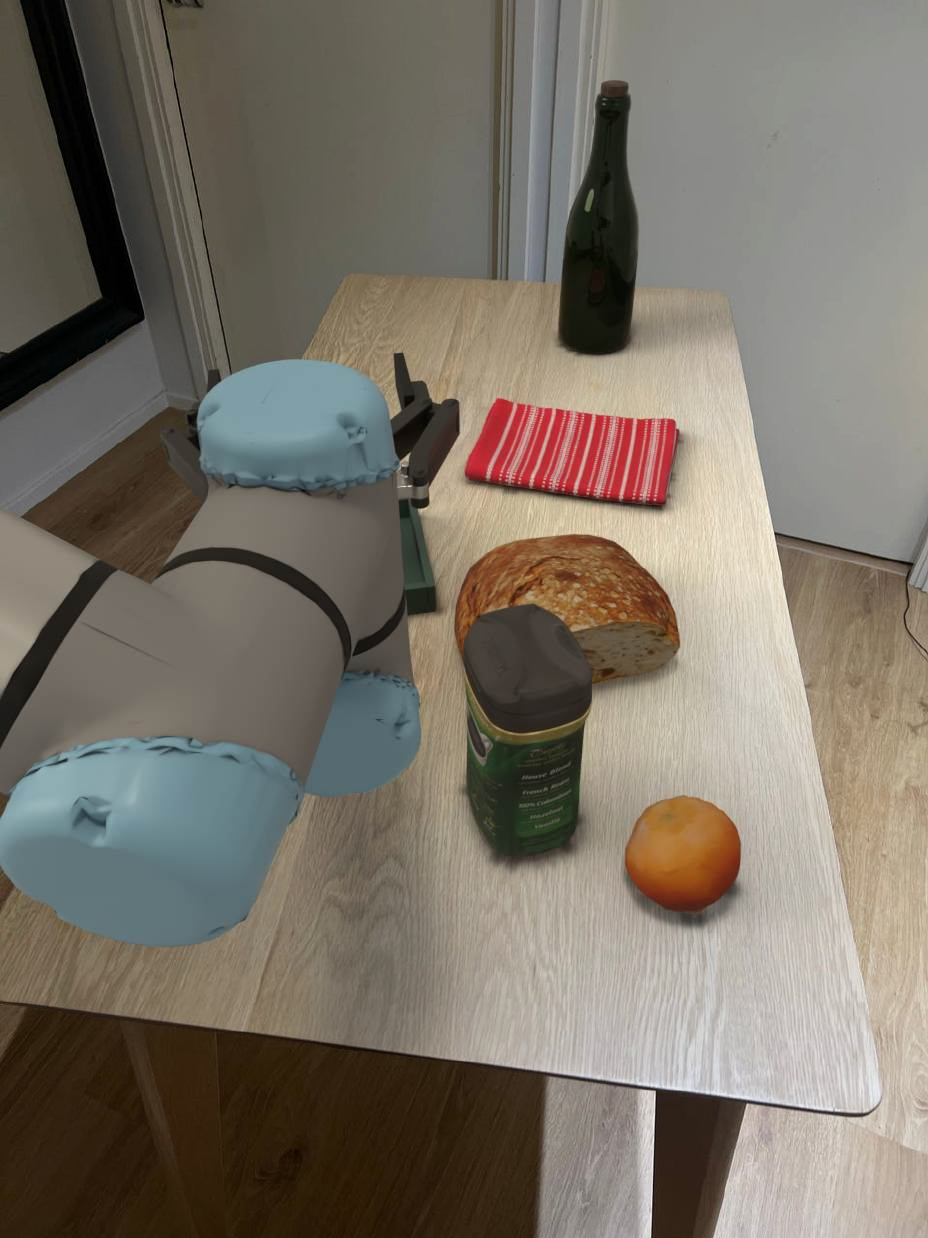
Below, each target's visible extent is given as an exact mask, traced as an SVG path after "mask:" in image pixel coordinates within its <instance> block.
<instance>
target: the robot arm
mask: <svg viewBox="0 0 928 1238" xmlns="http://www.w3.org/2000/svg"><path fill="white" fill-rule="evenodd" d="M392 354H393V367H394V382H395V383H394V384H395V389H396V393H397V398H398V402H399V406H400V411H399V412H397V414H395V415H394V416H393V417H392V418H391V415H390V411H389V406H388V405H389V404H388V402H387V400H386V397H385V395H384V393H383V392H382V391H381V389H380V388H379V386H378V384H376V383H375V382H374V381H373V380H372V379H370V378H369V377H367V376H366V375H365V374H363V373H362V372H361V371H358V370H356V369H354V368H352V367H350V366H347V365H345V364H341V363H337V362H333V361H327V360H315V359H300V358H292V359H281V360H280V359H279V360H273V361H267V362H263V363H259V364H256V365H252V366H250V367H247V368H243V369H241V370H239V371H237V372H235V373H233V374H231V375H229V376H227V377H225V378H224V379H222V377H221V371H220V369H219V368H217V369H214V368H213V369H208V372H207V383H206V394H205V396H204V397H203V399H202V401H195V402H194V403H193V404H192V405H191V408H190V409H188V410H186V411H185V413H184V416H185V420H186V424H187V426H186V427H184V428H182V429H179V428H178V427H176V426H174V425H170V426H169V425H168V426H163V427H162V428H160V429H159V432H158V433H159V435H160V440H161V443H162V447H163V450H164V454H165V457H166V462H167V463H168V465H169V467H170V468H171V469H172V470H173V471H174V472H175V473H176V475H177V476H178V477H179V478H180V479H181V480H182V481H183V482H184V484H185V485H186V486H187V487H188V488H189V489H190V490H191V492H192V493H193V494H194V495H195V496H196V497H197V498H198V499H199V500H200V501H201V502H202V506H201V507H200V509H199V510H198V511H197V513H196V515H195V516H194V518H193V519H192V521H191V522H190V523H189V525H188V527H187V529H186V530H185V531H184V533H183V535H182V536H181V538H179V541H178V542H177V544H176V545H175V547H174V549H173V550H172V551H171V553H170V555H169V556H168V558H167V560H166V561H165V563H164V564H163V566H162V567H161V569H160V570H159V571H158V573H157V574H156V576H155V577H154V579H153V580H152V582H151V583H148V582H146V581H145V580H143V579H140V578H139V577H137V576H134V575H132V574H130V573H127V572H125V571H123V570H121V569H119V568H118V567H116V566H113V565H112V564H110V563H108V562H106V561H104V560H103V559H100V558H98V557H96V556H94V555H93V554H90V553H89V552H87V551H86V550H83V549H81V548H79V547H77V546H75V545H74V544H72V543H70V542H68V541H66V540H64V539H62V538H60V537H58V536H56V535H55V534H52V533H50V532H49V531H47V530H45V529H43V528H41V527H39V526H38V525H36V524H34V523H32V522H30V521H28V520H26V519H24V518H23V517H21V516H19V515H17V514H15V513H13V512H11V511H10V510H8V509H6V508H5V507H2V506H0V793H1V794H3V795H5V796H6V800H7V802H6V806H5V809H4V811H3V813H2V815H1V817H0V867H1V870H2V871H3V872H4V874H5V876H7V877H8V879H9V880H10V882H12V884H13V885H14V887H16V888H17V889H18V890H19V891H20V892H22V893H23V894H25V895H26V897H28V898H30V899H31V900H33V901H36V902H39V903H43V904H44V905H47V906H49V907H51V908H52V910H54V913H55V915H56V917H58V919H60V920H62V921H64V922H65V923H68V924H69V925H72V926H74V927H77V928H79V929H81V930H84V931H86V932H88V933H91V934H95V935H97V936H100V937H103V938H106V939H110V940H113V941H117V942H122V943H127V944H131V945H138V946H145V947H152V948H153V947H155V948H179V947H187V946H188V947H189V946H194V945H195V946H196V945H200V944H203V943H206V942H209V941H213V940H215V939H217V938H219V937H221V936H222V935H224V934H226V933H228V932H229V931H231V930H232V929H234V928H235V927H236V926H237V925H238V924H240V923H242V922H245V921H246V920H247V918H248V916H249V914H250V913H251V911H252V909H253V908H254V906H255V904H256V902H257V900H258V898H259V895H260V894H261V890H262V888H263V886H264V883H265V881H266V878H267V876H268V874H269V872H270V869H271V868H272V865H273V862H274V860H275V857H276V855H277V853H278V850H279V848H280V846H281V843H282V840H283V839H284V836H285V834H286V832H287V829H288V827H289V826H291V824H292V823H293V822H294V821H295V820H296V819H297V818H298V816H299V814H300V812H301V807H302V803H303V801H304V797H305V794H307V795H311V796H315V797H322V798H341V797H344V796H348V795H356V794H359V795H362V794H365V793H369V792H371V791H372V792H373V791H374V790H377V789H379V788H382V787H384V786H386V785H388V784H390V783H391V782H393V781H394V780H396V779H397V778H399V777H400V776H401V775H402V774H403V773H405V771H407V770H408V768H409V767H410V766H411V764H412V763H413V762H414V760H415V759H416V757H417V754H418V752H419V750H420V747H421V743H422V724H421V717H420V708H421V701H420V699H421V696H420V692H419V689H418V688H419V687H417V686H416V683H415V677H414V671H413V664H412V663H413V662H412V655H411V646H410V645H411V644H410V631H409V618H408V617H409V615H407V602H406V596H405V588H404V577H403V562H402V547H401V531H400V516H399V501H398V499H405V498H411V505H412V507H414V508H416V509H418V510H422V509H426V508H428V507H429V506H430V503H431V502H430V487H431V485H432V484H433V482H434V480H435V478H436V476H437V475H438V473H439V471H440V469H441V468H442V466H443V464H444V463H445V461H446V459H447V457H448V456H449V454H450V452H451V450H452V448H453V447H454V445H455V443H456V441H457V440H458V438H459V437H460V434H461V422H460V421H461V420H460V419H461V417H460V416H461V415H460V413H461V411H460V401H459V399H456V398H445V399H444V400H442V401H441V402H440V403H436V402H434V401H433V399H432V397H430V392H429V388H428V386H427V383H426V382H425V381H424V380H413V381H411V377H410V373H409V368H408V365H407V362H406V361H407V360H406V358H405V354H404V352H393V353H392ZM408 455H409V456H408ZM407 456H408V460H404V459H405V458H407ZM403 460H404V461H403ZM401 461H402V462H401Z"/></svg>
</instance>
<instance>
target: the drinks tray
mask: <svg viewBox="0 0 928 1238" xmlns="http://www.w3.org/2000/svg"><path fill="white" fill-rule="evenodd" d="M398 501H399V516H400V531H401V547H402V562H403V577H404V588H405V596H406V602H407V616H410V615H415V614H422V613H431V612H437V597H436V596H437V594H436V593H437V592H436V584H435V579H434V575H433V570H432V567H431V562H430V557H429V553H428V548H427V543H426V540H425V539H426V538H425V535H424V531H423V526H422V522H421V517H420V513H419V512H420V511H419V509H416V508H414V507H412V505H411V498H405V499H398Z"/></svg>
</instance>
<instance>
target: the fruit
mask: <svg viewBox="0 0 928 1238" xmlns="http://www.w3.org/2000/svg"><path fill="white" fill-rule="evenodd" d="M741 841H742V840H741V837H740V834H739V830H738V828H737V826H736V824H735V822H733V820H732V819H731V818H730V817H729V815H728V814H727V813H726V812H725V811H724V810H723V809H720V808H719V807H718V806H716V805H715V804H714V803H712V802H710V801H707V800H704V799H702V798H700V797H698V796H697V797H695V796H688V795H685V794H682V795H677V796H674V797H671V798H666V799H661V800H659V801H656V802H655V803H653V804H651V805H649V806H647V807H646V808H645V809H644V810H643V812H642V813H641V815H640V816H638V818H637V820H636V821H635V823H634V826H633V828H632V832H631V834H630V837H629V839H628V841H627V843H626V846H625V849H624V866H625V870H626V873H627V874H628V877H629V878H630V879H631V880H632V882H633V883H634V885H635V887H636V888H637V890H639V892H641V894H643V896H645V897H646V898H648V899H649V900H651V901H652V902H654V903H656V905H658V906H660V907H661V908H662V909H664V910H666V911H671V912H674V913H681V914H689V915H691V916H693V917H694V918H695V919H696V918H697V915H698V914H699V913H701V912H703V911H704V910H705V909H707V908H709V907H710V906H712V905H713V904H715V903H717V902H718V901H720V900H721V899H722V898H723V897H724V896H725V895H726V894H727V892H728V891H729V890H730V889H732V887H733V885H734V883H735V881H736V879H737V878H738V875H739V873H740V868H741V863H742V861H741V860H742V842H741Z"/></svg>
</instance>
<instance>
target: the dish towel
mask: <svg viewBox="0 0 928 1238" xmlns="http://www.w3.org/2000/svg"><path fill="white" fill-rule="evenodd" d="M677 426H678V425H677V422H676V419H675V418H674V419H673V418H666V417H664V418H652V417H651V418H637V417H624V416H618V415H607V414H597V413H588V412H584V411H581V412H580V411H577V410H571V409H570V410H569V409H568V410H567V409H561V408H558V407H557V408H556V407H540V406H537V405H533V404H527V403H519V402H517V401H510V400H509V399H505V398H500V397H497V398H496V399H495V401H494V402H493V403H492V404H491V406H490V409H489V411H488V413H487V416H486V417H485V420H484V423H483V426H482V429H481V433H480V434H479V436H478V438H477V440H476V442H475V444H474V446H473V448H472V450H471V452H470V454H469V455H468V457H467V460H466V464H465V467H464V476H465V478H467V479H468V480H471V481H481V482H487V483H492V484H498V485H504V486H508V487H517V488H525V489H530V490H537V491H541V492H549V493H555V494H563V495H570V496H573V497H574V496H575V497H581V498H588V499H595V500H601V501H602V500H603V501H612V502H617V503H629V504H638V505H645V506H648V505H649V506H651V505H652V506H664V505H665V504H666V503H667V496H668V493H669V486H670V482H671V477H672V472H673V468H674V464H675V458H676V454H677V450H678V449H677V448H678V443H679V436H680V429H679V428H677Z"/></svg>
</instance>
